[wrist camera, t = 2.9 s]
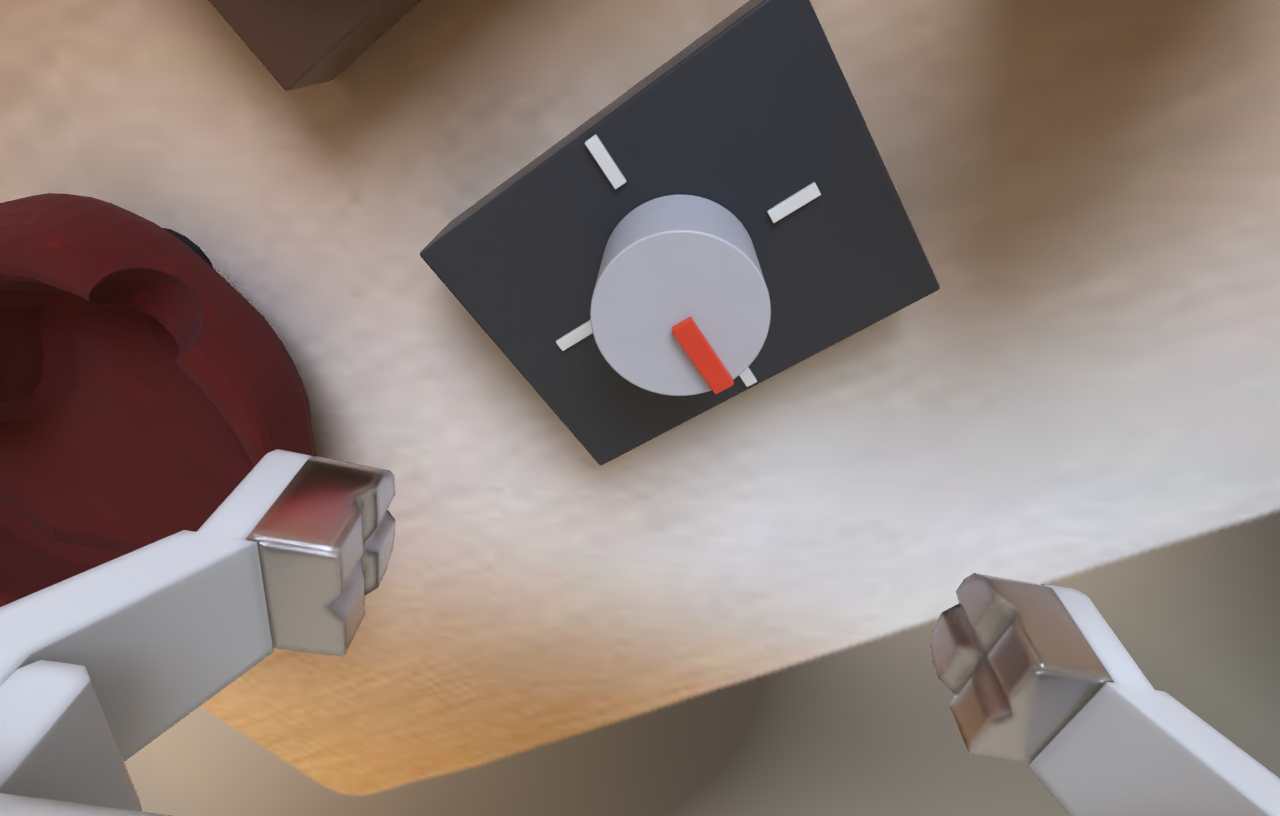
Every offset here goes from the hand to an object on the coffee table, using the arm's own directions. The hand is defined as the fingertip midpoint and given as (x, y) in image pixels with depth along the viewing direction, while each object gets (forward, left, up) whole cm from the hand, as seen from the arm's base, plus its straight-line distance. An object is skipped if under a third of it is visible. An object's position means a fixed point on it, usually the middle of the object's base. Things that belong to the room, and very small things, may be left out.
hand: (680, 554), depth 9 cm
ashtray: (+21, -4, -14) cm, 26 cm away
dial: (0, 0, -11) cm, 11 cm away
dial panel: (0, 0, -14) cm, 14 cm away
